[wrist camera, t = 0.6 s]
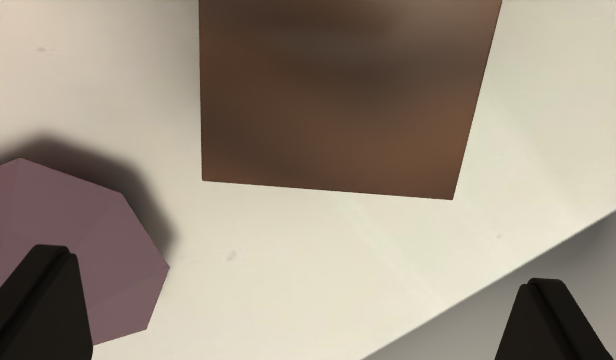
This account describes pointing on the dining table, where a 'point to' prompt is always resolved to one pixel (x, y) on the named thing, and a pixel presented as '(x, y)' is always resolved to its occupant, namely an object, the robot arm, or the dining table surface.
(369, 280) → the dining table surface
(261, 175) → the lid
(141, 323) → the flask
